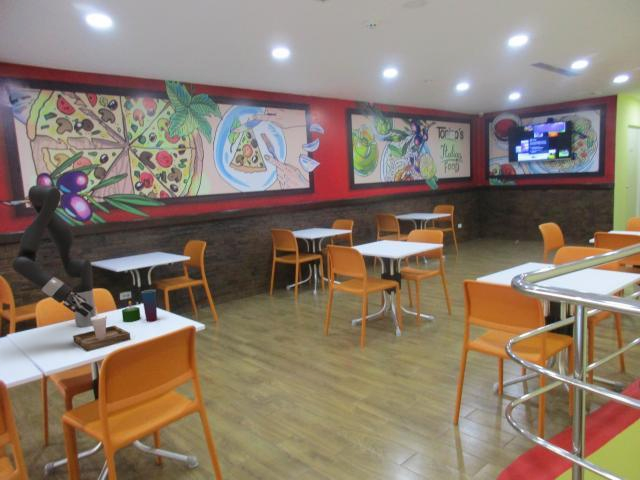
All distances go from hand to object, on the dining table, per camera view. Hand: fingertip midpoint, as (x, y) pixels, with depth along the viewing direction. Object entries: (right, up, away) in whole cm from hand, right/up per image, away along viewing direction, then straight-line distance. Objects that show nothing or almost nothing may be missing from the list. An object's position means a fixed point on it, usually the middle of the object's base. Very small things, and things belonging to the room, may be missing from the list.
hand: (89, 312), depth 199 cm
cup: (+16, -9, +30) cm, 35 cm away
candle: (+5, -9, +33) cm, 35 cm away
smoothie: (+4, -12, +2) cm, 13 cm away
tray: (+4, -13, +2) cm, 14 cm away
